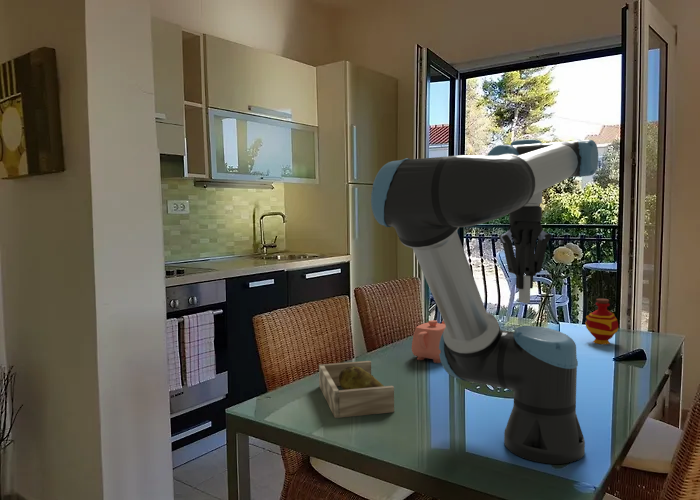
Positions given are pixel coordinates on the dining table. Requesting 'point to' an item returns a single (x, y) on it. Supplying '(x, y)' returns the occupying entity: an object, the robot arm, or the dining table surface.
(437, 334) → the teapot
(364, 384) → the potato
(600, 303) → the red yellow vase
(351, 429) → the dining table surface
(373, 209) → the robot arm
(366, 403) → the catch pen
